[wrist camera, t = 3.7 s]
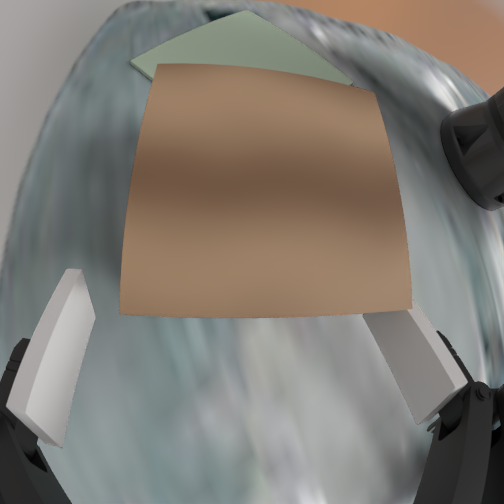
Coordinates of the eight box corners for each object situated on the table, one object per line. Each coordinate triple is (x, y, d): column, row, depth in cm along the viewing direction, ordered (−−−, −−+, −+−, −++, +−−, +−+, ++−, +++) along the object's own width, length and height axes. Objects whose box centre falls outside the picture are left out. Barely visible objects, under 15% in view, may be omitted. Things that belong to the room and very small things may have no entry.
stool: (175, 188, 23) (157, 63, 10) (294, 194, 25) (374, 92, 12) (168, 314, 21) (119, 314, 8) (299, 314, 23) (412, 308, 10)
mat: (246, 12, 30) (246, 9, 29) (351, 85, 29) (353, 82, 29) (130, 64, 25) (130, 60, 25) (244, 161, 25) (245, 158, 24)
